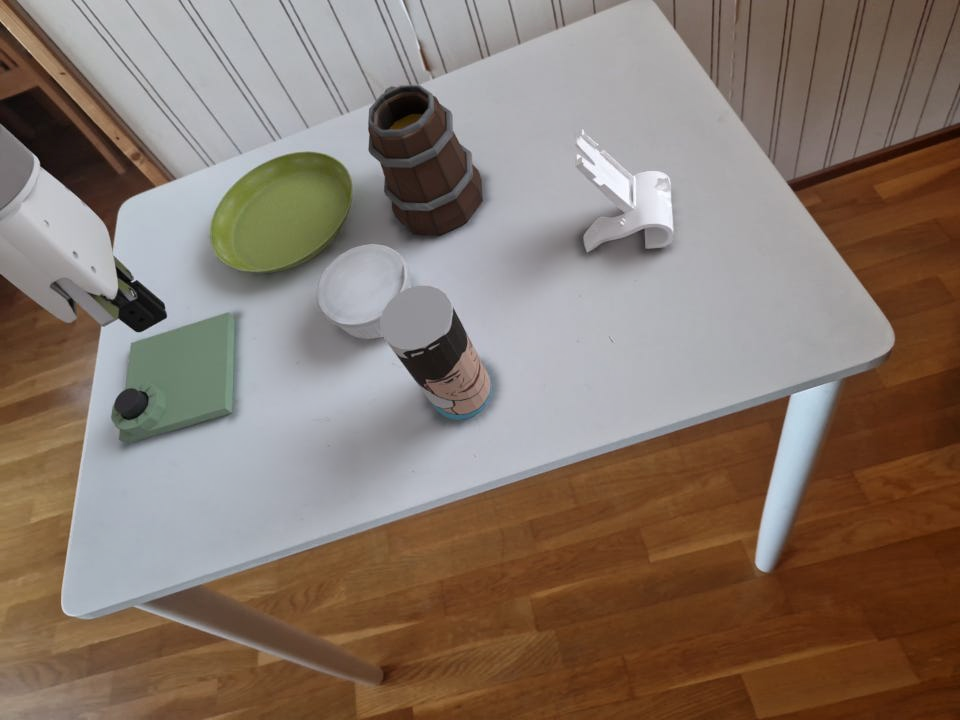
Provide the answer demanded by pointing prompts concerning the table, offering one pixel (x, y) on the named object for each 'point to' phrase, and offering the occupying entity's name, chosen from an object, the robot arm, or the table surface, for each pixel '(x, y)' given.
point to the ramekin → (362, 288)
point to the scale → (180, 378)
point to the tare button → (131, 403)
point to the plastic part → (626, 198)
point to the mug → (422, 161)
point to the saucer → (282, 212)
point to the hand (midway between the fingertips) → (152, 319)
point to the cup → (436, 351)
